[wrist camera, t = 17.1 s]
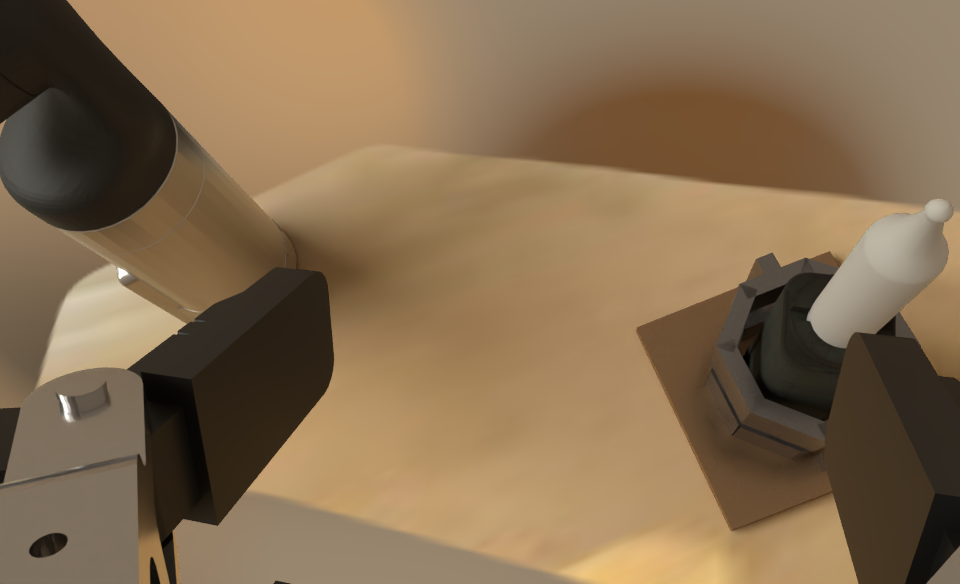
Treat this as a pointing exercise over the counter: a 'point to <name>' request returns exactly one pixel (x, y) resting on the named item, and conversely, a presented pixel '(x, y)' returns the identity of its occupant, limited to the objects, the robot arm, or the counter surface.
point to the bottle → (845, 308)
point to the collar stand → (741, 397)
